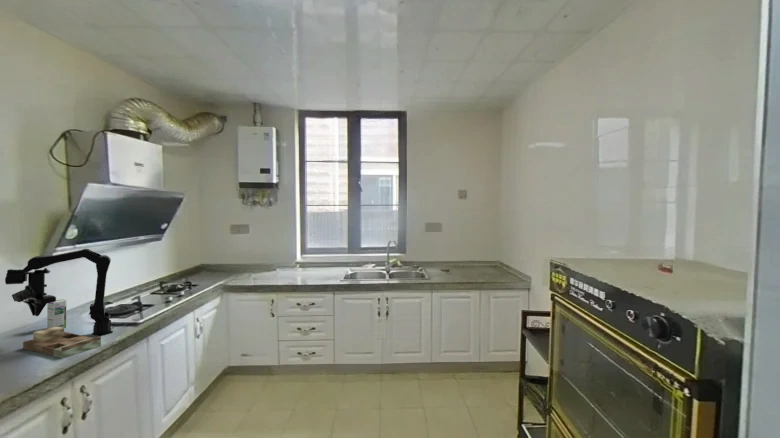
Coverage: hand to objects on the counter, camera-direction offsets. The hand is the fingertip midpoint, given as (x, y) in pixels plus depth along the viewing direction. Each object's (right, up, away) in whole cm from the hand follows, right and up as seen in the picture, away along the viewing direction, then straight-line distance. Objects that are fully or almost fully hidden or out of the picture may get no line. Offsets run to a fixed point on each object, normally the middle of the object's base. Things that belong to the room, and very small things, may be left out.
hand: (35, 315), depth 183 cm
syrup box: (-7, -11, +19) cm, 23 cm away
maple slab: (+9, -10, -3) cm, 13 cm away
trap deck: (+17, -13, -6) cm, 22 cm away
